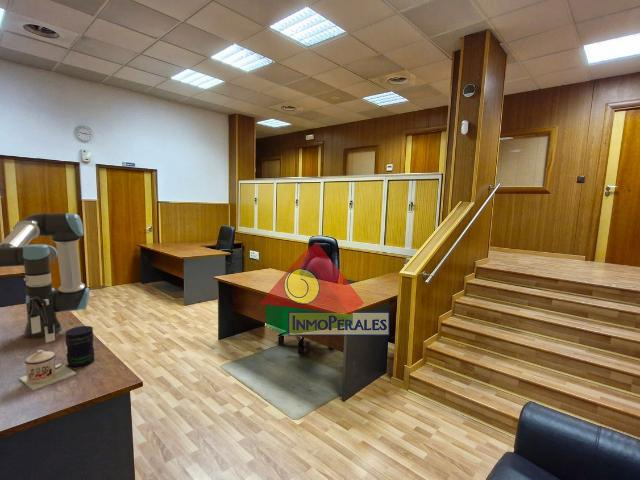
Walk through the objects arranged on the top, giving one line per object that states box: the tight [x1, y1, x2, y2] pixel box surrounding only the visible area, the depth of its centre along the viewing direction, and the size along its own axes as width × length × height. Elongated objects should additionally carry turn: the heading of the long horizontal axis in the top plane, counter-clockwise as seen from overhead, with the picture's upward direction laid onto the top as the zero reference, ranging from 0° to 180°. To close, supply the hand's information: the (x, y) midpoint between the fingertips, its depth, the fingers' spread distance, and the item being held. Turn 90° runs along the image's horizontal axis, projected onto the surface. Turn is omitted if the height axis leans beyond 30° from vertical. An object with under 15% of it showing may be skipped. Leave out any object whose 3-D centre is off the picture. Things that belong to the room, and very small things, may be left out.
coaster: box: [19, 362, 77, 391], centre depth 132 cm, size 14×14×1 cm
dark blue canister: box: [65, 325, 96, 369], centre depth 143 cm, size 10×10×15 cm
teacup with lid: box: [24, 349, 66, 384], centre depth 130 cm, size 12×9×12 cm
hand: (43, 336), depth 129 cm, fingers open, 13 cm apart
